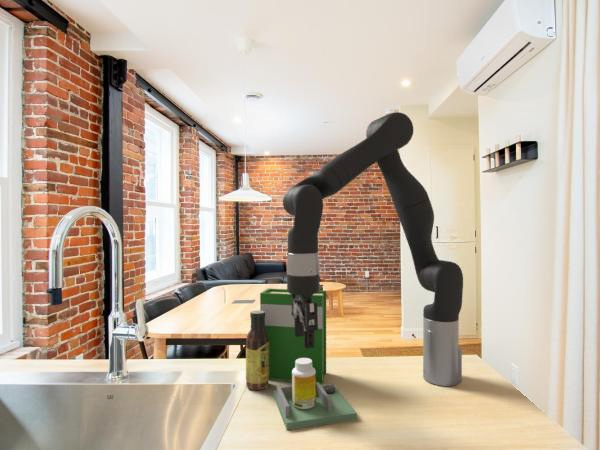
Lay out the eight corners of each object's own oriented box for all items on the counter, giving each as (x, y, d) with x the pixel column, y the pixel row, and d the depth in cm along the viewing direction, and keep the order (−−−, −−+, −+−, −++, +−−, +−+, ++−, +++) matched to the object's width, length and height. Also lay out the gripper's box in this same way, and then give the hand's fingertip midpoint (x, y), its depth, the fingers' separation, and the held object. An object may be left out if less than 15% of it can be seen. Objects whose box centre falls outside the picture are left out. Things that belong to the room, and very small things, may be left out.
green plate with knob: (333, 389, 97) (333, 374, 97) (356, 419, 82) (356, 401, 82) (273, 397, 93) (273, 381, 93) (286, 430, 78) (286, 411, 78)
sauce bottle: (265, 392, 96) (265, 315, 95) (242, 390, 97) (242, 314, 96) (272, 381, 102) (272, 309, 102) (250, 379, 103) (250, 308, 103)
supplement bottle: (320, 407, 85) (319, 362, 85) (297, 412, 82) (297, 366, 82) (310, 397, 90) (309, 355, 90) (288, 401, 88) (288, 358, 88)
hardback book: (326, 372, 108) (326, 290, 107) (322, 383, 101) (322, 295, 100) (268, 367, 111) (268, 288, 111) (260, 378, 104) (260, 293, 104)
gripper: (328, 275, 80) (329, 350, 80) (310, 267, 93) (310, 331, 94) (294, 277, 78) (295, 354, 78) (281, 268, 91) (281, 334, 92)
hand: (304, 341), depth 86 cm, fingers open, 8 cm apart
